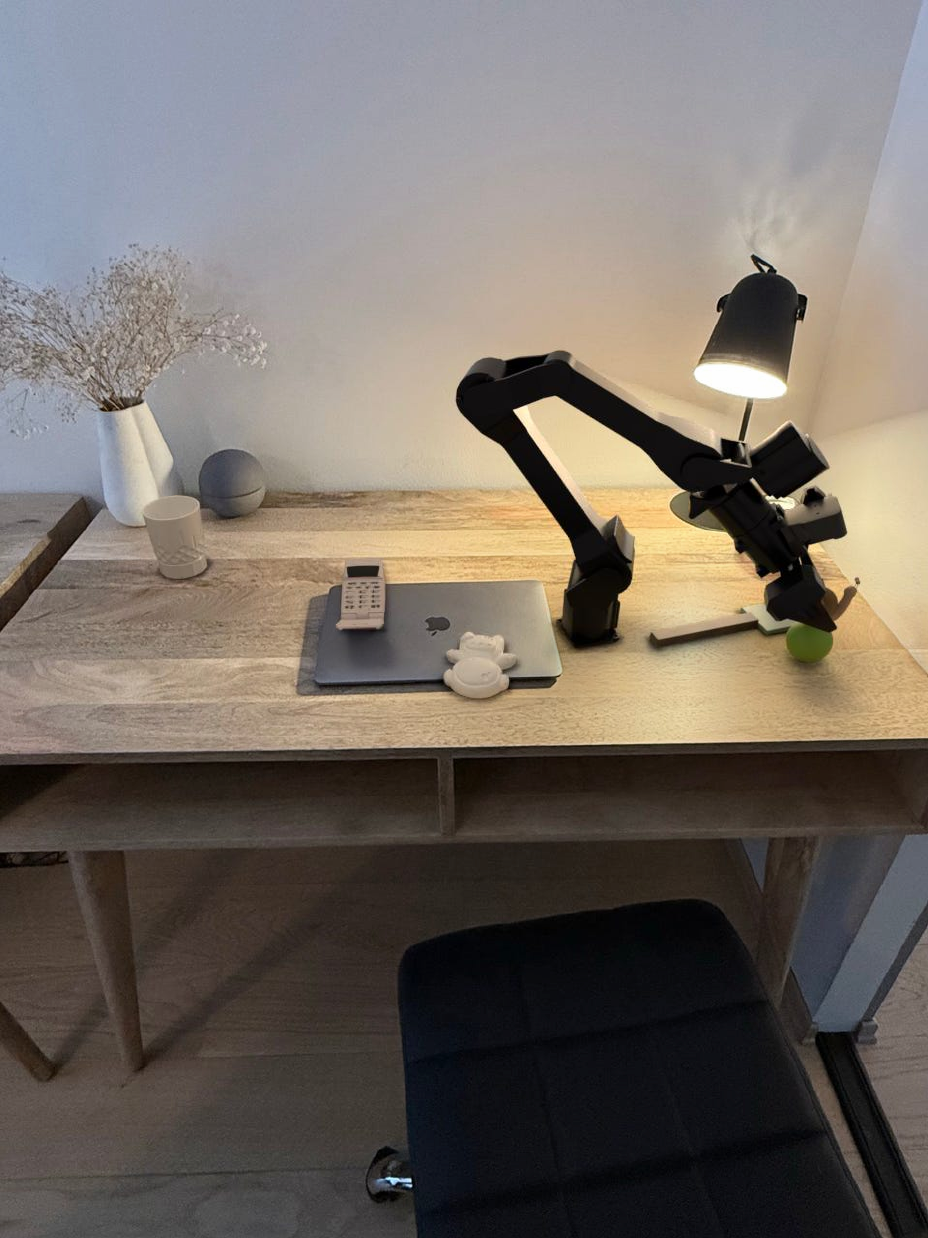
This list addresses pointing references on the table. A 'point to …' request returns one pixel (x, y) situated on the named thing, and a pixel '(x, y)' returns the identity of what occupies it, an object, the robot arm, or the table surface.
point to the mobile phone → (362, 594)
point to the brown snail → (813, 641)
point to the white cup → (176, 535)
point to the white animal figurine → (479, 666)
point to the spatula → (722, 626)
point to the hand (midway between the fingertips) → (827, 609)
